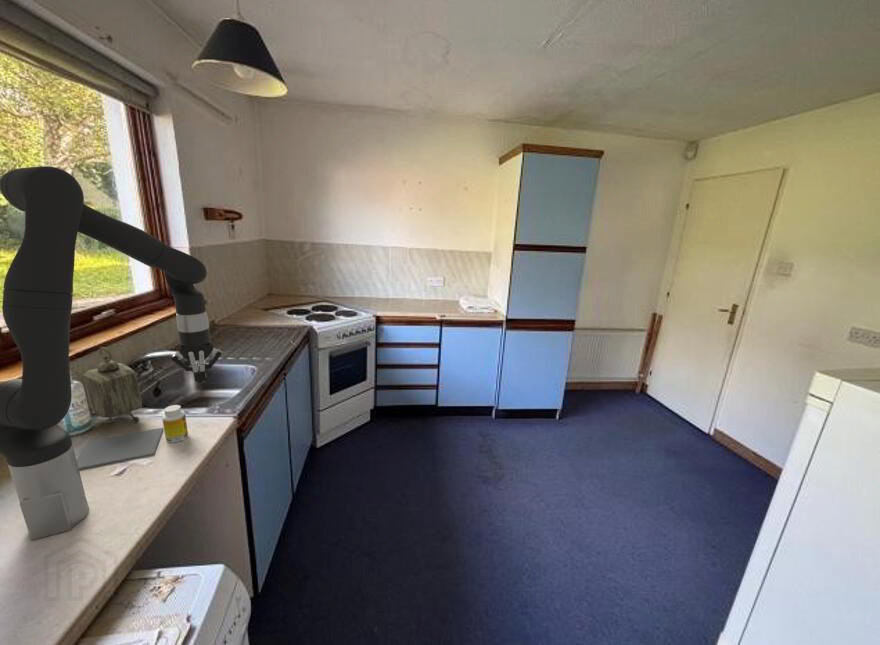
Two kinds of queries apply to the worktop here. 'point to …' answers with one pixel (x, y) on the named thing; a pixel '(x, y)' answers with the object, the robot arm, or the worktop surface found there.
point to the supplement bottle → (174, 424)
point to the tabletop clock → (112, 389)
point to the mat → (119, 448)
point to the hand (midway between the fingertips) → (201, 381)
